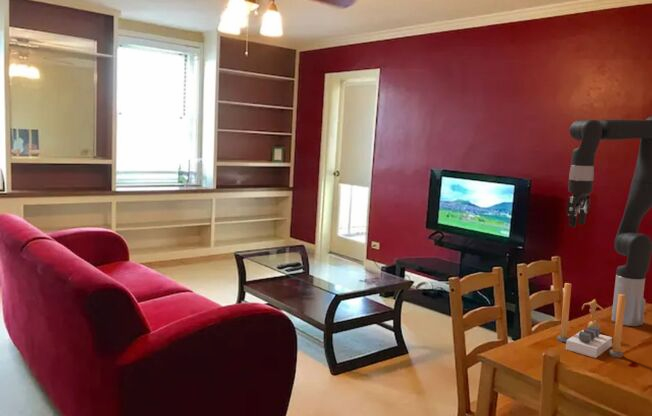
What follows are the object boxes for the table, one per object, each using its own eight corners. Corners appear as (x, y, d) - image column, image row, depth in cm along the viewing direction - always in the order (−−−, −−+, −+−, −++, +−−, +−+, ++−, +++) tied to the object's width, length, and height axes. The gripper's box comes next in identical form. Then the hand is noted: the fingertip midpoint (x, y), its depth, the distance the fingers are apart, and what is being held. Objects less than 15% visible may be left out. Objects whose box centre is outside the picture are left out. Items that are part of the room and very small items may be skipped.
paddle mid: (585, 334, 175) (585, 328, 174) (595, 337, 173) (595, 330, 172) (583, 337, 174) (583, 330, 173) (593, 339, 172) (593, 333, 171)
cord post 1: (566, 338, 181) (571, 282, 179) (571, 342, 178) (576, 285, 175) (555, 338, 181) (560, 282, 179) (560, 342, 178) (565, 285, 175)
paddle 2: (590, 331, 178) (590, 325, 177) (600, 334, 176) (600, 327, 175) (588, 334, 177) (588, 327, 176) (598, 336, 175) (598, 330, 174)
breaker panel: (582, 338, 182) (583, 329, 182) (611, 346, 176) (612, 337, 175) (565, 349, 172) (566, 339, 172) (595, 358, 166) (596, 348, 165)
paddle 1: (581, 337, 172) (580, 331, 171) (591, 340, 170) (590, 333, 169) (579, 340, 171) (578, 333, 170) (589, 342, 169) (589, 336, 168)
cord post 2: (618, 353, 170) (624, 293, 168) (624, 358, 167) (631, 297, 164) (606, 352, 170) (613, 293, 168) (612, 357, 167) (619, 296, 164)
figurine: (608, 334, 187) (612, 300, 185) (601, 338, 183) (604, 303, 181) (583, 327, 193) (587, 294, 191) (576, 331, 189) (579, 297, 187)
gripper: (577, 177, 194) (573, 222, 196) (561, 178, 184) (557, 226, 186) (600, 178, 189) (595, 225, 191) (584, 180, 179) (580, 229, 181)
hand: (576, 225), depth 189 cm, fingers open, 8 cm apart
